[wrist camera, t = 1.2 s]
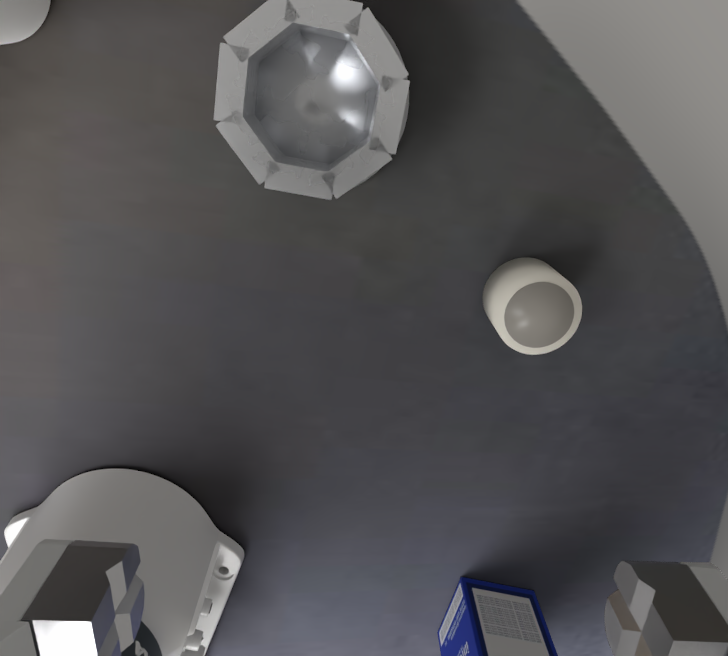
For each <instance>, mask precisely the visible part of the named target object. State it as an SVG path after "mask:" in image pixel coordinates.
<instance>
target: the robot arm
mask: <svg viewBox="0 0 728 656" xmlns="http://www.w3.org/2000/svg"><path fill="white" fill-rule="evenodd" d="M4 534H5V539H6V542H7V545H8V550H7V551H6V553H5V555H4V556H3V558H2V559H1V561H0V656H205V654H206V651H207V649H208V646H209V644H210V641H211V639H212V636H213V634H214V631H215V629H216V626H217V624H218V622H219V619H220V617H221V614H222V612H223V609H224V607H225V604H226V602H227V599H228V597H229V594H230V592H231V589H232V587H233V584H234V582H235V580H236V577H237V575H238V572H239V570H240V567H241V565H242V562H243V559H244V550H243V549H242V547H241V546H240V545H239V544H238V543H236V542H235V541H234V540H233V539H231V538H230V537H228V536H227V535H225V534H224V533H222V532H221V531H219V530H218V529H217V528H216V526H215V525H214V524H213V522H212V521H211V519H210V518H209V516H208V515H207V513H206V512H205V510H204V509H203V508H202V507H201V505H200V504H199V503H198V502H197V501H196V500H195V499H194V498H193V497H192V496H190V495H189V494H188V493H187V492H185V491H184V490H183V489H181V488H180V487H178V486H177V485H175V484H173V483H171V482H169V481H167V480H165V479H163V478H160V477H158V476H155V475H152V474H149V473H146V472H141V471H136V470H130V469H101V470H95V471H90V472H86V473H83V474H80V475H78V476H75V477H73V478H71V479H69V480H67V481H66V482H64V483H63V484H61V485H60V486H59V487H57V488H56V489H55V490H54V491H53V492H52V493H51V494H50V495H49V497H48V498H47V499H46V500H45V501H44V502H43V503H42V504H40V505H39V506H38V507H35V508H32V509H30V510H27V511H25V512H22V513H20V514H18V515H16V516H14V517H13V518H12V519H11V520H10V522H9V524H8V525H7V527H6V529H5V532H4ZM223 567H227V568H223ZM613 578H614V580H615V582H616V584H617V586H618V588H619V589H617V590H616V591H615V592H614V593H613V594H611V595H610V596H609V597H608V598H607V603H606V607H605V611H604V619H605V631H606V635H607V639H608V643H609V646H610V648H611V650H612V653H613V655H614V656H728V580H727V579H726V577H725V576H724V575H723V573H721V571H720V569H719V568H718V567H716V566H715V565H713V564H712V563H704V562H680V563H678V562H655V561H621V562H620V563H619V565H618V566H617V567H616V571H615V574H614V577H613Z"/></svg>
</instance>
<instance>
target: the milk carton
mask: <svg viewBox="0 0 728 656" xmlns="http://www.w3.org/2000/svg"><path fill="white" fill-rule="evenodd" d="M437 633H438V638H439V645H440V651H441V656H558V655H557V652H556V650H555V647H554V644H553V641H552V639H551V636H550V633H549V630H548V628H547V625H546V622H545V620H544V617H543V614H542V611H541V609H540V606H539V603H538V600H537V598H536V595H535V592H534V591H533V590H528V589H523V588H517V587H512V586H507V585H502V584H497V583H491V582H486V581H481V580H476V579H471V578H466V577H461V578H460V580H459V583H458V585H457V588H456V590H455V592H454V595H453V597H452V599H451V602H450V604H449V607H448V609H447V611H446V614H445V616H444V619H443V621H442V623H441V626H440V628H439V630H438V632H437Z"/></svg>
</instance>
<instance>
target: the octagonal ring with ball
mask: <svg viewBox="0 0 728 656" xmlns="http://www.w3.org/2000/svg"><path fill="white" fill-rule="evenodd" d="M362 8H363V3H360V2H355V1H350V0H268V1H267V2H265V3H264V4H263V5H262V6H260V7H259V8H258V9H257V10H255V11H254V12H253V13H252V14H251V15H249V16H248V17H247V18H246V19H244V20H243V21H242V22H241V23H239V24H238V25H237V26H236V27H235V28H233V29H232V30H231V31H230V32H228V33H227V34H226V35H225V36H224V37H223V38H224V39H225V40H226V42H227V43H228V44H224V43H220V50H219V62H218V74H217V86H216V98H215V110H214V120H217V121H221V122H220V123H219V124H217V125H216V127H217V129H218V130H219V131H220V133H221V134H222V135H223V137H224V138H225V139H226V141H227V142H228V143H229V145H230V146H231V147H232V149H233V150H234V152H235V153H236V154H237V156H238V157H239V158H240V160H241V161H242V162H243V164H244V165H245V166H246V168H247V169H248V170H249V172H250V173H251V174H252V176H253V177H254V178H255V180H256V181H257V182H258V184H259V185H260V184H261V183H263V182H264V181H265V187H264V188H267V189H272V190H278V191H283V192H289V193H294V194H300V195H305V196H311V197H316V198H322V199H327V200H331V199H332V194H334V196H335V197H336V199H337V198H339V197H340V196H342V195H343V194H344V193H346V192H347V191H349V190H350V189H351V188H353V187H355V186H358V185H360V184H361V183H363V182H364V181H366V180H368V179H369V178H370V177H372V176H373V175H374V174H375V173H377V172H378V171H379V170H380V169H381V168H382V167H383V166H384V165H385V164H387V163H388V162H390V161H391V160H392V158H391V155H392V154H396V151H397V145H398V143H399V141H400V139H401V136H402V134H403V131H404V128H405V124H406V121H407V116H408V108H409V84H410V81H408V78H407V76H408V75H409V74H408V72H407V70H406V69H405V65H404V63H403V60H402V57H401V55H400V52H399V50H398V48H397V46H396V44H395V43H394V41H393V39H392V38H391V36H390V35H389V34H388V32H387V31H386V29H385V28H384V27H383V26H382V25H381V24H380V23H379V22H378V21H377V19H375V17H374V16H373V14H372V12H371V11H370V9H369V8H366V9H365V10H364V9H362Z"/></svg>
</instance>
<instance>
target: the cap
mask: <svg viewBox="0 0 728 656" xmlns="http://www.w3.org/2000/svg"><path fill="white" fill-rule="evenodd" d="M482 300H483V307H484V310H485V313H486V315H487V316H488V318H489V320H490V321H491V323H492V324H493V326H494V328H495V329H496V331H497V332H498V334H499V335H500V337H501V339H502V340H503V341H504V342H505V343H506V344H507V345H508V346H509V347H510V348H512V349H514V350H515V351H518V352H520V353H524V354H531V355H538V354H544V353H548V352H551V351H553V350H555V349H557V348H559V347H561V346H562V345H563V344H565V343H566V342H567V341H568V340H569V339H570V338H571V337H572V336H573V334H574V333H575V331H576V330H577V328H578V326H579V323H580V320H581V316H582V303H581V299H580V296H579V294H578V292H577V290H576V289H575V287H574V286H573V285H572V284H571V283H570V282H569V281H568V280H566V279H565V278H564V277H563V276H562V275H560V274H559V273H558V272H557V271H556V270H554V269H553V268H552V267H551V266H550V265H548V264H547V263H545V262H544V261H541V260H539V259H536V258H530V257H522V258H516V259H512V260H510V261H507V262H506V263H504V264H502V265H501V266H499V267H498V268H497V269H496V270H495V271H494V272H493V273H492V274H491V275H490V277H489V278H488V280H487V282H486V284H485V287H484V290H483V298H482Z"/></svg>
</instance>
